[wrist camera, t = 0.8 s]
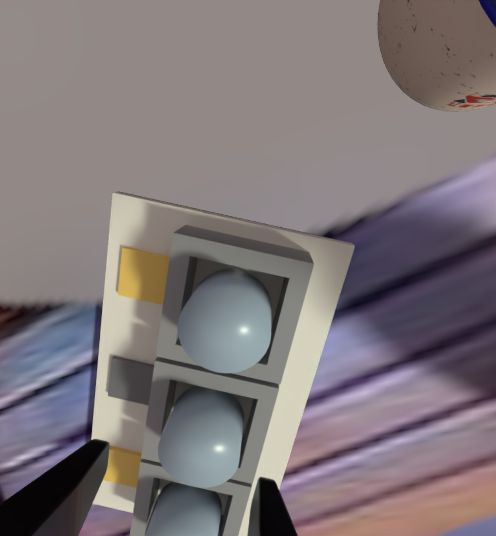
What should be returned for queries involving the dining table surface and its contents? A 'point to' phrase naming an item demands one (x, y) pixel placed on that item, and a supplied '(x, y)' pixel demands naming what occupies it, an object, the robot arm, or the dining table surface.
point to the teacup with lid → (441, 51)
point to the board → (182, 366)
